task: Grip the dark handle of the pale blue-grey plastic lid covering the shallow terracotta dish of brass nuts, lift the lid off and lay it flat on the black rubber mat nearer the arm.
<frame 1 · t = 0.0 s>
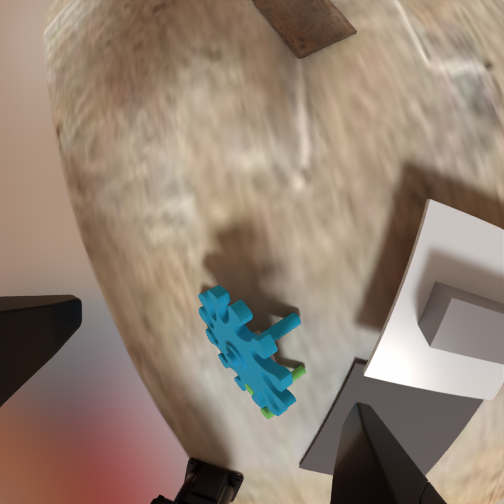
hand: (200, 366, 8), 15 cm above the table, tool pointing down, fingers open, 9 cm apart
mat: (393, 435, 23), on the table
gear: (258, 334, 24), on the table
lid: (471, 314, 17), point 3 cm above the table, touching dish
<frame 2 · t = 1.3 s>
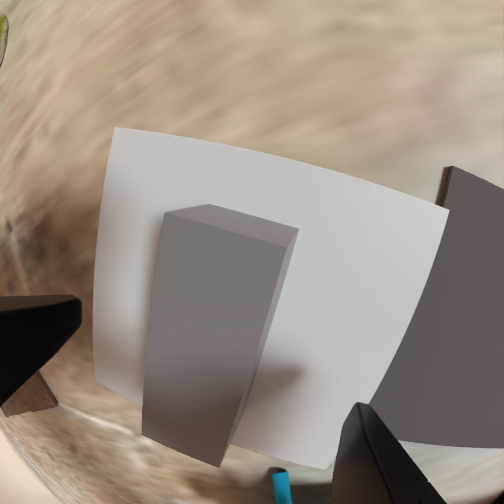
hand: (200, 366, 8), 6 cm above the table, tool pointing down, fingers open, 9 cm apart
wooden plank: (20, 389, 24), on the table
gear: (304, 492, 17), on the table
lid: (231, 319, 12), point 3 cm above the table, touching dish
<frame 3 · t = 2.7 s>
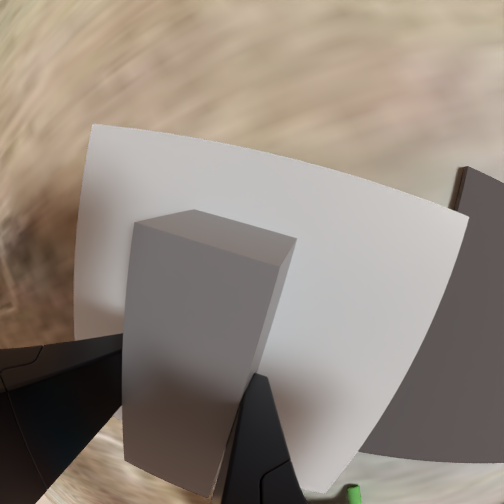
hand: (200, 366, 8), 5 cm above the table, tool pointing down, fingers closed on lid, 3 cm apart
lid: (221, 338, 10), point 3 cm above the table, touching dish, gripper
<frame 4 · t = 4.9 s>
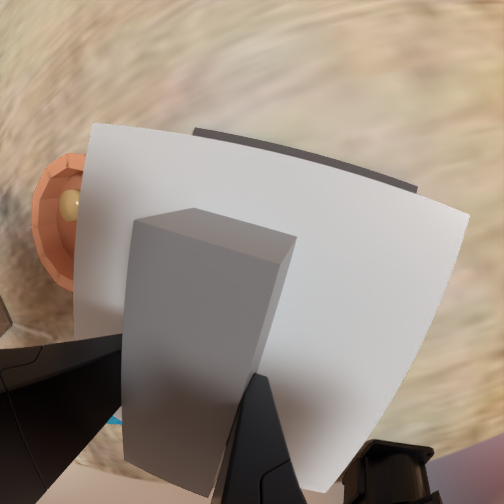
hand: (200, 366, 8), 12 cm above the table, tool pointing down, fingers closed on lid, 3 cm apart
mat: (275, 262, 20), on the table
dish: (96, 220, 22), on the table
lid: (221, 337, 10), point 10 cm above the table, touching gripper
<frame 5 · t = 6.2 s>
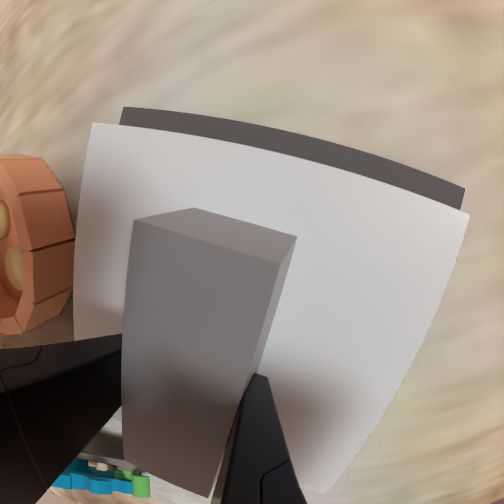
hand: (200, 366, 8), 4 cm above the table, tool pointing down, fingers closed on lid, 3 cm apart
mat: (241, 306, 13), on the table
gear: (111, 442, 18), on the table
dish: (23, 238, 15), on the table
lid: (221, 337, 10), point 3 cm above the table, touching gripper
when the fingers open (3 cm above the table, at t = 7.1 s): lid stays where it is, resting on mat.
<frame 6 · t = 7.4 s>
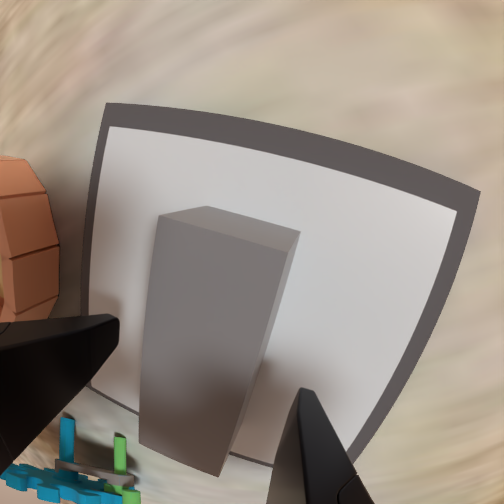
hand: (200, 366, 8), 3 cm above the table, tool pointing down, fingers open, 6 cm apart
mat: (232, 320, 12), on the table
gear: (102, 452, 17), on the table
dish: (8, 243, 14), on the table
lid: (230, 325, 11), resting on mat
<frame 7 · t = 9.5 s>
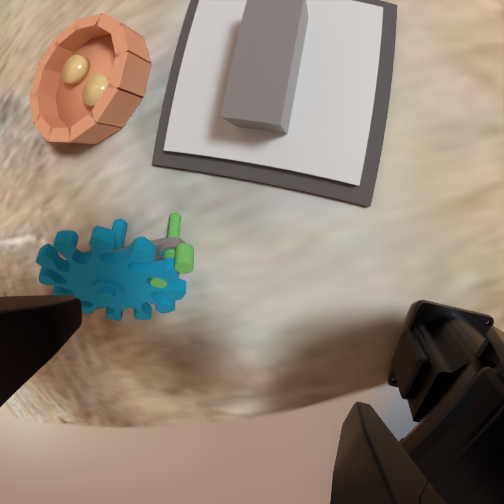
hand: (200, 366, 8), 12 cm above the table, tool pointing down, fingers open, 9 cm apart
mat: (275, 73, 17), on the table
gear: (146, 264, 22), on the table
dish: (96, 83, 20), on the table
lid: (275, 70, 17), resting on mat
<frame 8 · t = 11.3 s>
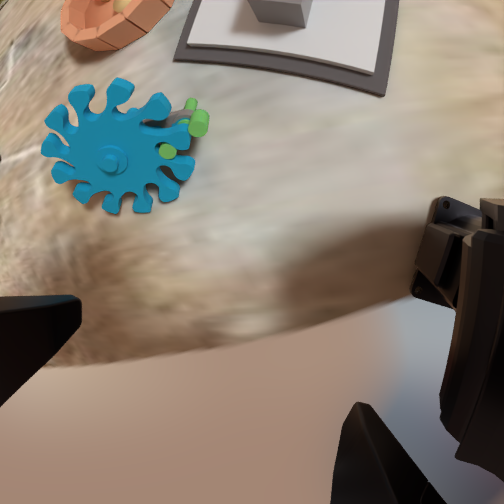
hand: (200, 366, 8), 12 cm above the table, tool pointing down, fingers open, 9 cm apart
gear: (154, 154, 21), on the table
dish: (126, 1, 18), on the table
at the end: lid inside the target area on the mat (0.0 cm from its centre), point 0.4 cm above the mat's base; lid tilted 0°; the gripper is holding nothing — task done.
